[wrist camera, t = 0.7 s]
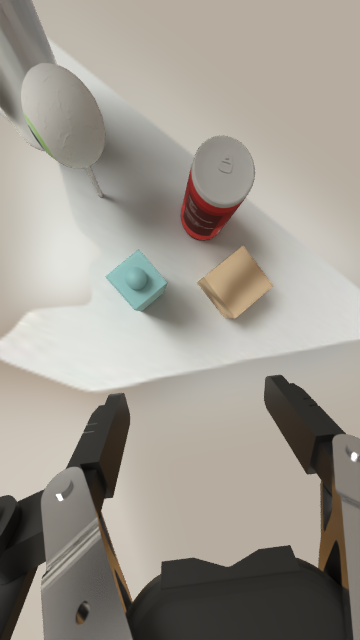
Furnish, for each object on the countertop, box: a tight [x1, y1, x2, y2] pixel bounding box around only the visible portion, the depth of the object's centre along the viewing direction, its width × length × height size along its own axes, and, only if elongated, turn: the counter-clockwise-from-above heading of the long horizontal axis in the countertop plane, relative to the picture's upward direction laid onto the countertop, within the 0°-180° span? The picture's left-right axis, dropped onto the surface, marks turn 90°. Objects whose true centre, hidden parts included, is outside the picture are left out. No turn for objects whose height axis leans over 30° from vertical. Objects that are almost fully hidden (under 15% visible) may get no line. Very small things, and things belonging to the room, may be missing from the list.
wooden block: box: [197, 246, 273, 318], centre depth 31 cm, size 8×8×5 cm
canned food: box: [181, 136, 255, 240], centre depth 27 cm, size 8×8×11 cm
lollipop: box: [21, 63, 105, 197], centre depth 23 cm, size 7×7×15 cm
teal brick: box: [105, 250, 167, 312], centre depth 26 cm, size 5×5×11 cm
